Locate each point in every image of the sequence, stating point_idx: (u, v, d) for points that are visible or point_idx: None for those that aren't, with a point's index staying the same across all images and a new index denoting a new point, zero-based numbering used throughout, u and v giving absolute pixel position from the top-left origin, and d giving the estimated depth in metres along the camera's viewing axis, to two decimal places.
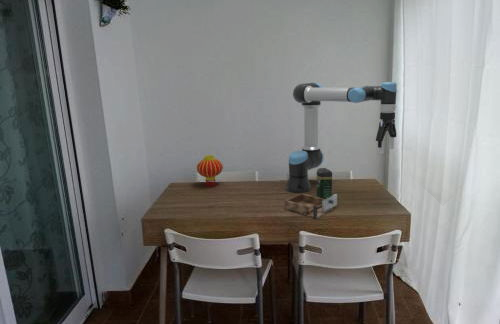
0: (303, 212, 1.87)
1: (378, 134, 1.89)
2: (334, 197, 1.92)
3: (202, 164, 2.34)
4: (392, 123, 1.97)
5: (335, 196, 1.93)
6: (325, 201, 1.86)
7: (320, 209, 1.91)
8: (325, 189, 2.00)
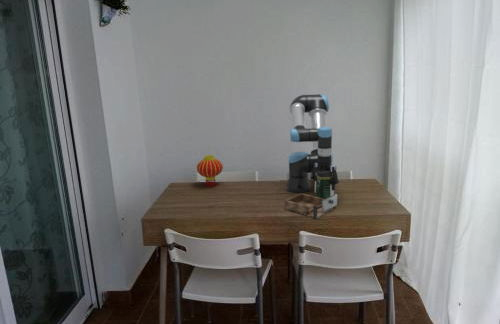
0: (303, 212, 1.87)
1: None
2: (334, 197, 1.92)
3: (202, 164, 2.34)
4: None
5: (335, 196, 1.93)
6: (325, 201, 1.86)
7: (320, 209, 1.91)
8: (325, 189, 2.00)
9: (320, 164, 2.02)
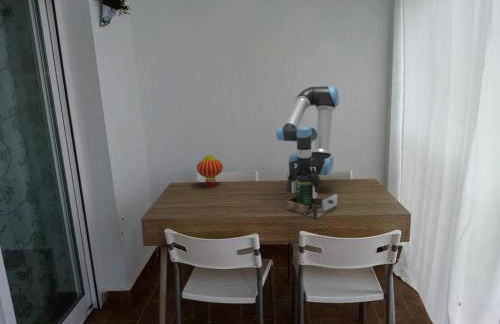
0: (303, 212, 1.87)
1: None
2: (334, 197, 1.92)
3: (202, 164, 2.34)
4: None
5: (335, 196, 1.93)
6: (325, 201, 1.86)
7: (320, 209, 1.91)
8: (305, 194, 1.89)
9: (300, 166, 1.90)
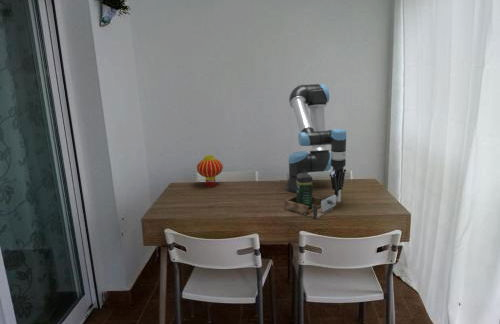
0: (303, 212, 1.87)
1: (332, 184, 1.91)
2: (333, 197, 1.91)
3: (202, 164, 2.34)
4: (343, 172, 1.95)
5: (334, 196, 1.92)
6: (324, 202, 1.85)
7: (320, 209, 1.91)
8: (305, 195, 1.89)
9: (337, 168, 1.89)
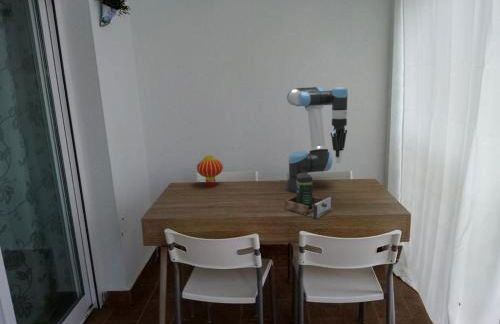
0: (303, 212, 1.87)
1: (333, 145, 1.86)
2: (328, 200, 1.88)
3: (202, 164, 2.34)
4: (344, 133, 1.90)
5: (329, 199, 1.88)
6: (318, 204, 1.82)
7: None
8: (305, 195, 1.89)
9: (338, 128, 1.84)
